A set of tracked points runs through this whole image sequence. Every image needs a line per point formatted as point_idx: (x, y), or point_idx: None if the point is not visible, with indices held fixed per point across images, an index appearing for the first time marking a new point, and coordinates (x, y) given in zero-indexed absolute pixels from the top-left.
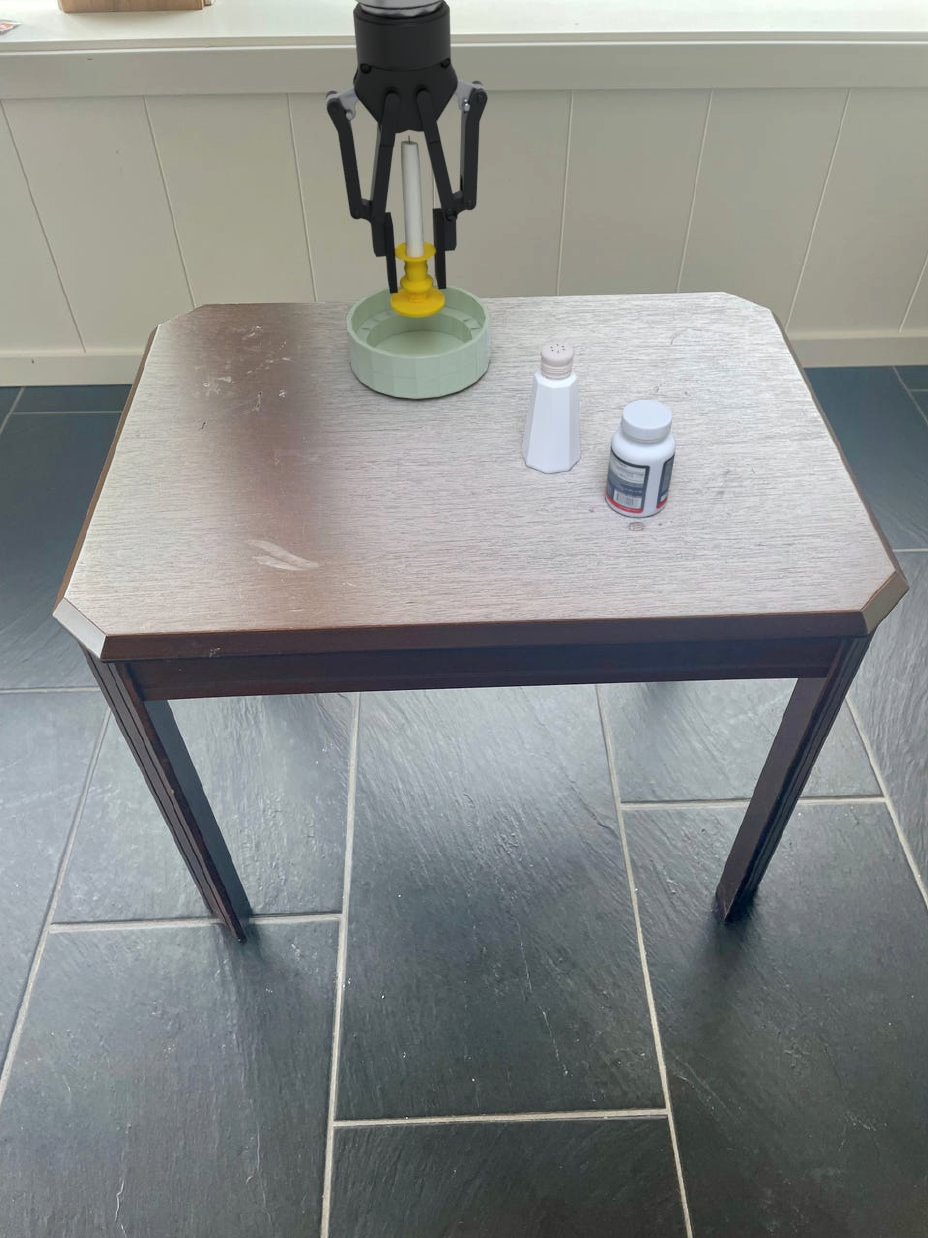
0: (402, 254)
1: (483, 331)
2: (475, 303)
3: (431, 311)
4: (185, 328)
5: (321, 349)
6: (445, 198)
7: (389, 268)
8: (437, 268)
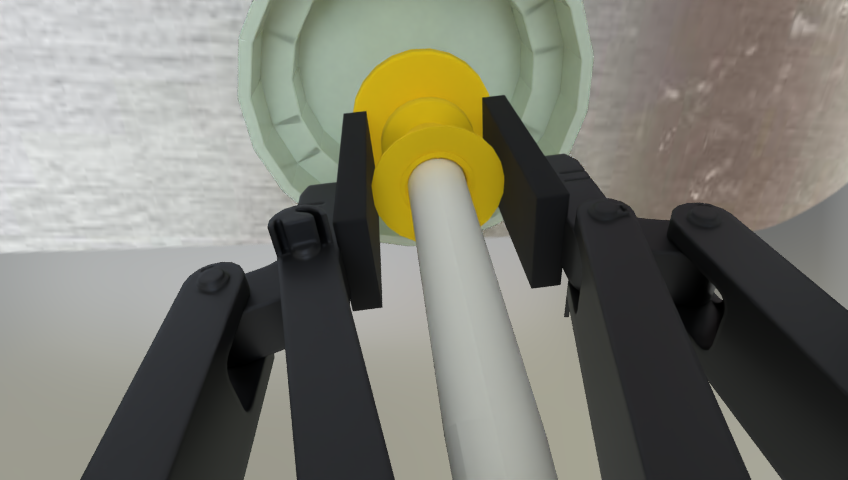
0: (478, 176)
1: (247, 29)
2: (286, 172)
3: (386, 61)
4: (812, 195)
5: (601, 123)
6: (318, 286)
7: (519, 124)
8: (367, 142)
